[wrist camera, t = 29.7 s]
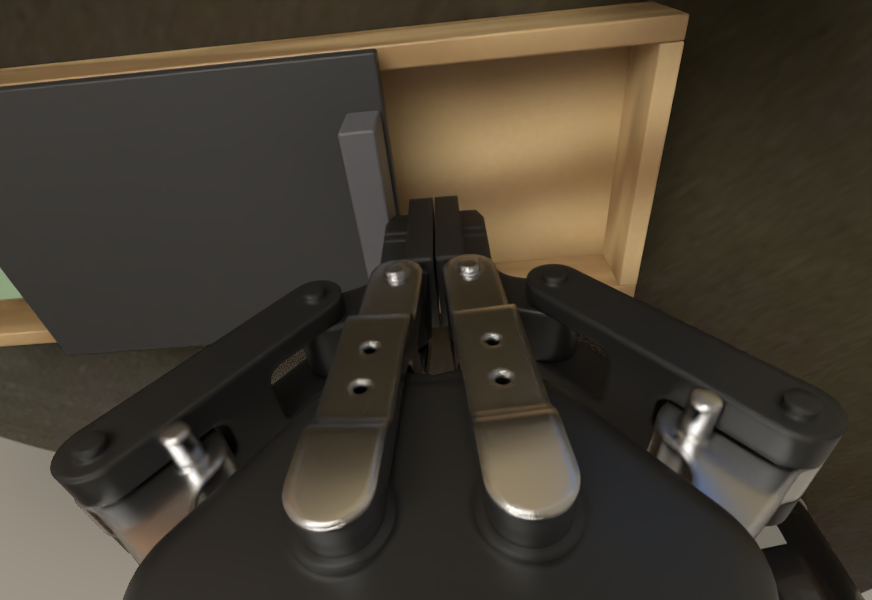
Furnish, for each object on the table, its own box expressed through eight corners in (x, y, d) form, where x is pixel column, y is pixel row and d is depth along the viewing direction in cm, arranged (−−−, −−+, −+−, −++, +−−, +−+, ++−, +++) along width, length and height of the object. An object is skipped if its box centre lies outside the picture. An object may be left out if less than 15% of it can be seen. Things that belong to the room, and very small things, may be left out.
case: (612, 259, 22) (634, 299, 20) (-5, 309, 23) (-53, 351, 21) (652, 0, 16) (691, 13, 13) (-187, 87, 17) (-282, 113, 15)
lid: (417, 320, 20) (416, 362, 18) (75, 346, 20) (38, 389, 18) (376, 47, 14) (368, 67, 12) (-109, 97, 14) (-192, 123, 12)
